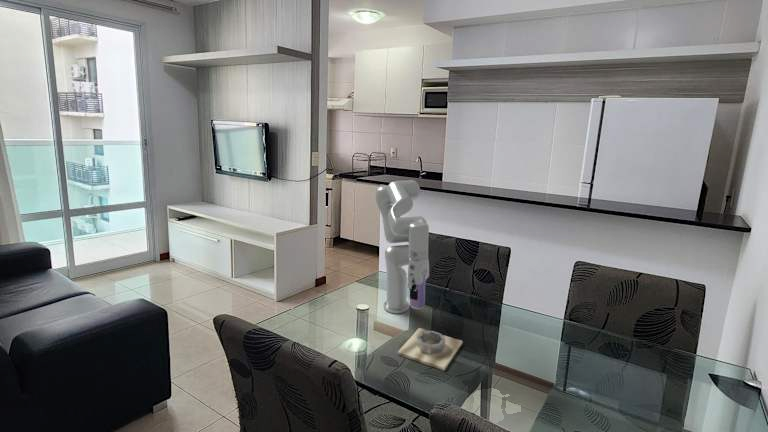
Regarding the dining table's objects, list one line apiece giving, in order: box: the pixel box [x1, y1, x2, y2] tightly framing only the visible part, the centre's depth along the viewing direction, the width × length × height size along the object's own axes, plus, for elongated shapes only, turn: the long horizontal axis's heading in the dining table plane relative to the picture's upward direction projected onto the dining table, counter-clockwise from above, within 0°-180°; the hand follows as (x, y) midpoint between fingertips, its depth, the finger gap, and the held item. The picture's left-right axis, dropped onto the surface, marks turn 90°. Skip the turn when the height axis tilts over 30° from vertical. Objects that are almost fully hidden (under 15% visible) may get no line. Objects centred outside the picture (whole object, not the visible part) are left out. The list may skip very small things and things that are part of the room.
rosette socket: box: [397, 327, 464, 371], centre depth 169 cm, size 20×20×5 cm
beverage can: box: [409, 274, 426, 310], centre depth 165 cm, size 6×6×15 cm
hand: (417, 295), depth 165 cm, fingers closed on beverage can, 5 cm apart
